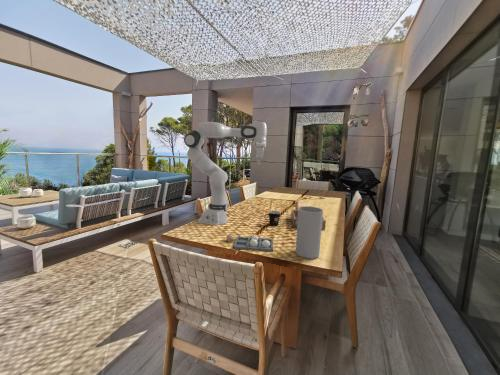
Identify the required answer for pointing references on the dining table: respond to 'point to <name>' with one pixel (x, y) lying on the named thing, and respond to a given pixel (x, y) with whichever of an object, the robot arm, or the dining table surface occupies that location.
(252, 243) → the cream egg
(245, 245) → the egg tray
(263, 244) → the cream egg
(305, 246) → the cylinder vase
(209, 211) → the robot arm
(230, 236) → the brown egg
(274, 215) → the coffee mug
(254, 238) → the cream egg
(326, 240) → the dining table surface
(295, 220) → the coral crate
